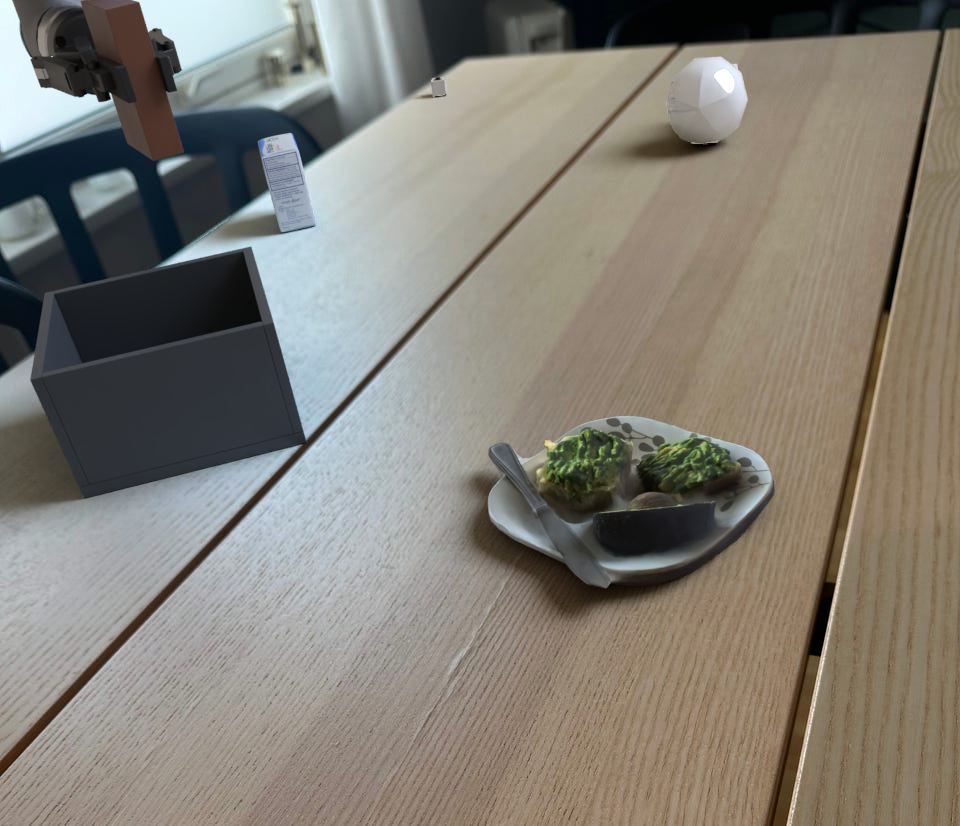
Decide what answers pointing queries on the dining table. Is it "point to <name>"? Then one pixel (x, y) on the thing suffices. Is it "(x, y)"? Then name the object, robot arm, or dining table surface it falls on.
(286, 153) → the medicine box
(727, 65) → the white faceted oblong piece
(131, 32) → the reddish brown rectangular block
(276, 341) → the open storage box
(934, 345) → the dining table surface
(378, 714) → the dining table surface
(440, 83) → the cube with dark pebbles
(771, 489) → the salad plate
